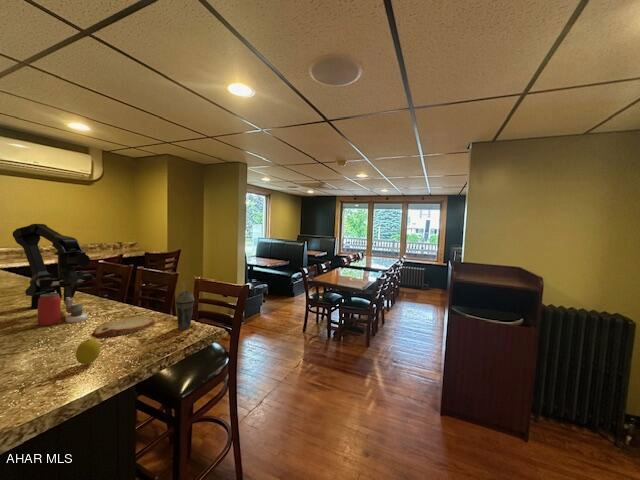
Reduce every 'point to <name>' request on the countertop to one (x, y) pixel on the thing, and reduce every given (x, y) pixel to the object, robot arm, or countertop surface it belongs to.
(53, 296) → the beer can
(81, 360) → the lemon
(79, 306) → the lever
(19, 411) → the countertop surface
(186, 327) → the beverage cup
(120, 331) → the slice of bread
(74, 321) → the lever base
